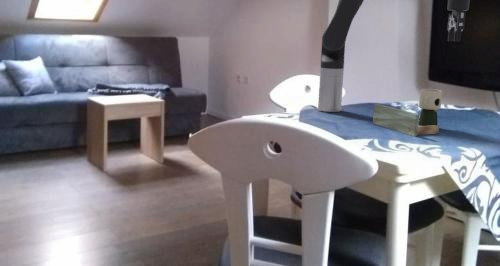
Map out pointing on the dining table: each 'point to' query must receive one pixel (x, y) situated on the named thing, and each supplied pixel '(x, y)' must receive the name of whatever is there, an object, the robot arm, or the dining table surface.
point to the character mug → (429, 106)
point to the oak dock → (401, 121)
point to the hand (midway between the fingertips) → (453, 41)
